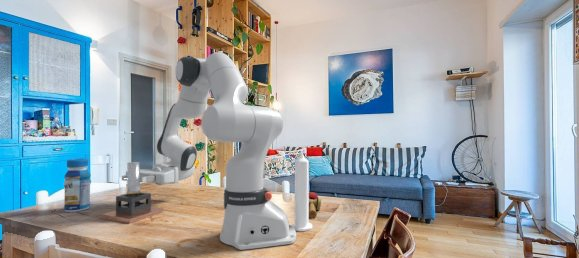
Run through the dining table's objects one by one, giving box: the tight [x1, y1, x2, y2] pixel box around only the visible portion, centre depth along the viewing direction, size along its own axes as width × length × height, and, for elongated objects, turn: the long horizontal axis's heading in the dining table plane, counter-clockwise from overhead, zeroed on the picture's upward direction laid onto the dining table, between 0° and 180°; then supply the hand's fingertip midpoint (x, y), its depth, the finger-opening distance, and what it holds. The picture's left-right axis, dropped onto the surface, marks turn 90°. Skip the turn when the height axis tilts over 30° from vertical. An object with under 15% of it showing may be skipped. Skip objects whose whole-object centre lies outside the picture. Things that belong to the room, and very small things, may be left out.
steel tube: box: [126, 161, 141, 207], centre depth 99 cm, size 4×4×18 cm
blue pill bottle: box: [63, 158, 92, 213], centre depth 107 cm, size 8×8×20 cm
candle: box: [290, 150, 313, 232], centre depth 87 cm, size 7×7×25 cm
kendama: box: [308, 191, 322, 219], centre depth 106 cm, size 8×6×18 cm
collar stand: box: [101, 191, 164, 224], centre depth 99 cm, size 14×14×8 cm
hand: (131, 179), depth 99 cm, fingers open, 8 cm apart
